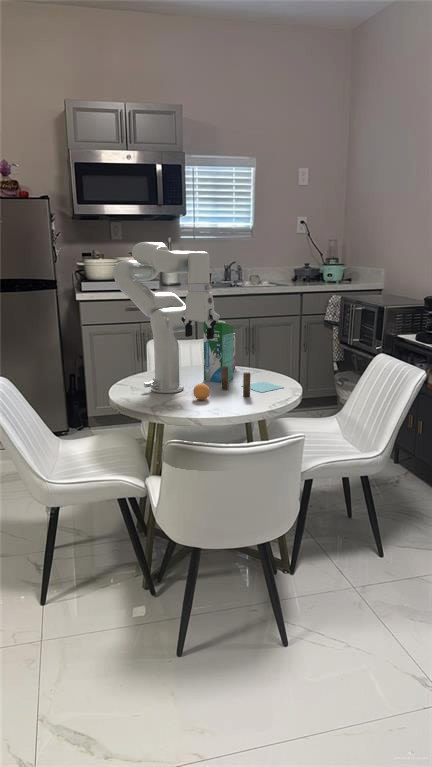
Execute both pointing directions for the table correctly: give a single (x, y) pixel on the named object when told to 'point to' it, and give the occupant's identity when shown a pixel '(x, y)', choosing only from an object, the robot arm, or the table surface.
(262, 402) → the table surface
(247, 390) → the right post
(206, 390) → the ball
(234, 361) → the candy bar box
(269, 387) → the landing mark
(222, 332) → the milk carton
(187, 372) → the table surface
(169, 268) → the robot arm
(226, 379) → the left post
